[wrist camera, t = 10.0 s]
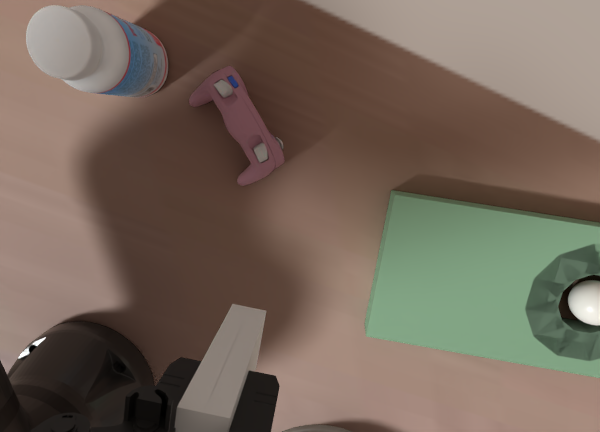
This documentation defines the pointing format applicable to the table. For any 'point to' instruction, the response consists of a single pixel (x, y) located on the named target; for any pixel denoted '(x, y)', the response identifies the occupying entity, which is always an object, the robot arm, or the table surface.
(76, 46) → the pill bottle
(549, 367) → the mat
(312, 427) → the dog bowl
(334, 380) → the table surface
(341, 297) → the table surface
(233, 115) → the video game controller
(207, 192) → the table surface
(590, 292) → the ball
